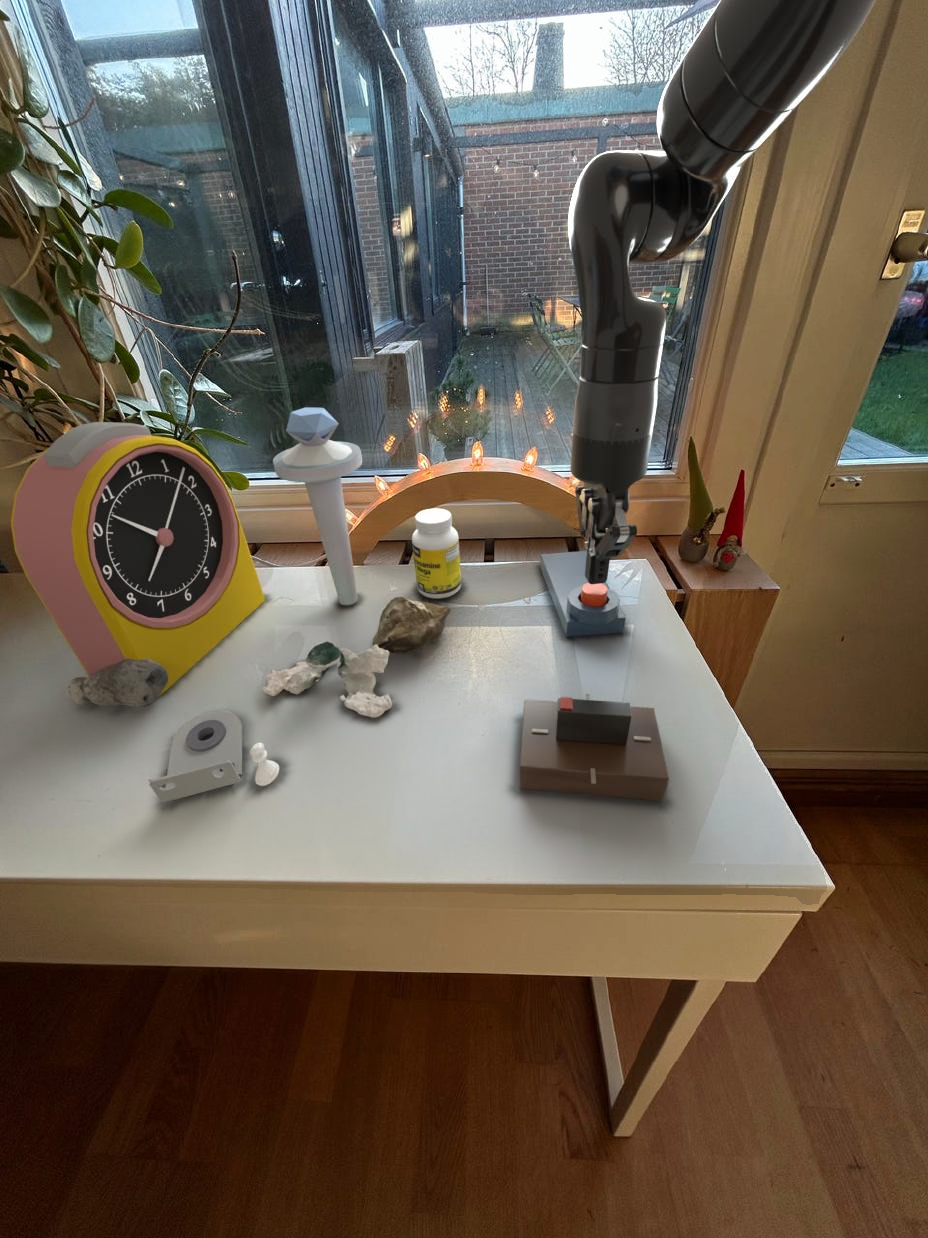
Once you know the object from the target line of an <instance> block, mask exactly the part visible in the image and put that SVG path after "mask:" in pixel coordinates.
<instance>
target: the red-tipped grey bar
mask: <svg viewBox="0 0 928 1238" xmlns="http://www.w3.org/2000/svg"><path fill="white" fill-rule="evenodd" d="M557 702H558V706H557V719H556V739H563V740H575V741H587V742H599V743H612V744H624V745H626V744H627V738H628V733H629V728H630V723H631V718H632V714H631V708H630V707H631V703H630V702H621V701H606V700H593V699H590V700H586V699H577V698H573V697H567V696H566V697H565V696H563V697H562V696H560V697H558V698H557Z"/></svg>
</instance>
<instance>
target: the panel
mask: <svg viewBox="0 0 928 1238" xmlns="http://www.w3.org/2000/svg"><path fill="white" fill-rule="evenodd" d="M585 700H591V696H590V694H589V693H585ZM557 706H558V701H551V700H536V699H535V700H534V699H524V700H523V713H522V724H521V725H522V726H521V727H522V728H521V739H520V740H521V742H520V753H519V771H518V772H519V778H518V780H519V781H518V788H519V789H525V790H532V791H533V790H534V791H535V790H536V791H546V792H555V793H568V794H578V795H590V796H599V797H601V796H602V797H612V798H623V799H633V800H635V799H636V800H645V801H656V802H663V801H664V797H665V793H666V790H667V786H668V783H669V779H670V777H669V774H668V769H667V768H668V767H667V763H666V758H665V754H664V749H663V745H662V740H661V735H660V731H659V725H658V721H657V716H656V712H655V708H654V707H643V706H630V708H631V714H632V718H631V723H630V728H629V733H628V738H627V744H626V745H624V744H612V743H599V742H587V741H575V740H563V739H556V719H557Z"/></svg>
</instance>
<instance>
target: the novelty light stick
mask: <svg viewBox="0 0 928 1238" xmlns="http://www.w3.org/2000/svg"><path fill="white" fill-rule="evenodd" d="M339 424H340V423H339V422H338V421H337V420H336V419H335V418H334V417H333V416H332V415H331V414H330V413H329V412H328V411H327V409H325V408H324V407H307V406H306V407H303V408H300V409H297V410H293V411H291V412H290V415H289V418H288V422H287V426H286V429H285V432H286V433H287V434H288V435H289V436H291V437H292V438H293V439H294V440H296V442H297V444H296V445H294V446H293V447H289V448H287V449H285V450H282V451H281V452H279V453H278V454H276V455H275V456H274V457H273V459H272V464H273V468H274V471H275V475H276V476H277V477H278V478H279V479H281V480H283V481H287V482H294V483H304V485H305V488H306V492H307V494H308V499H309V502H310V505H311V508H312V509H311V510H312V512H313V515H314V519H315V522H316V526H317V530H318V532H319V533H318V534H319V537H320V540H321V543H322V546H323V550H324V554H325V557H326V561H327V564H328V567H329V571H330V574H331V577H332V581H333V585H334V588H335V591H336V594H337V597H338V601H339V604H341V605H342V606H351V605H354V604H355V603H357V602H358V600H359V597H358V589H357V582H356V576H355V569H354V563H353V556H352V548H351V542H350V541H351V540H350V535H349V534H350V533H349V527H348V520H347V513H346V507H345V500H344V499H345V498H344V493H343V486H342V479H341V478H342V477H343V476H347V475H348V474H351V473H353V472H355V471H357V470H358V469H359V468H360V467H361V466H362V465H363V456H362V450H361V447H360V446H358V445H357V444H355V443H352V442H349V441H348V442H347V441H338V440H337V441H334V440H331V437H332V435H333V434H334V432H335V431H336V429H337V428H338V426H339Z"/></svg>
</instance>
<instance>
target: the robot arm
mask: <svg viewBox="0 0 928 1238" xmlns="http://www.w3.org/2000/svg"><path fill="white" fill-rule="evenodd" d="M876 1H877V0H719V2H718V3H717V5H716V6H715V8H714V10H713V11H712V13H711V14H710V15H709V17H708V19H707V20H706V21H705V23H704V25H703V27H702V28H701V30H700V31H699V33H698V34H697V36H696V37H695V39H694V40H693V42H692V43H691V45H690V46H689V48H688V50H687V51H686V52H685V53H684V56H683V57H682V59H681V60H680V62H679V63H678V65H677V66H676V67H675V69H674V71H673V73H672V75H671V76H670V79H669V81H668V82H667V84H666V86H665V87H664V90H663V91H662V95H661V98H660V101H659V104H658V108H657V116H656V128H657V136H658V139H659V142H660V145H661V148H662V150H611V151H605V152H603V153H600V154H598V155H596V156H595V157H593V158H592V159H591V160H590V161H589V162H588V164H586V166H585V167H584V169H583V170H582V172H581V173H580V176H579V177H578V179H577V182H576V184H575V187H574V189H573V193H572V197H571V200H570V205H569V209H568V239H569V248H570V253H571V259H572V264H573V270H574V275H575V282H576V287H577V294H578V302H579V308H580V315H581V320H582V321H581V322H582V337H581V338H582V340H581V352H580V367H579V368H580V369H579V377H578V386H577V391H576V394H575V402H574V408H573V409H574V412H573V425H572V426H573V427H572V442H571V454H570V465H569V466H570V469H569V471H570V473H571V475H572V476H573V477H574V478H575V479H577V480H578V481H581V482H582V483H583V485H577V486H575V489H574V494H575V501H576V509H577V518H578V524H579V525H578V526H579V534H580V537H581V538H584V542H583V543H584V544H583V545H584V548H585V551H587V557H586V567H585V577H586V579H587V581H588V582H589V584H600V583H605V582H606V583H607V581H608V576H609V570H610V569H609V568H610V561H611V559H613V558H620V557H621V556H622V555H623V553H624V552H625V551H626V549H627V548H628V547H629V546H630V544H632V542H634V539H636V536H637V535H638V527H637V525H636V524H629V523H628V521H627V516H626V514H627V513H628V512H629V509H630V501H631V500H630V488H631V487H632V485H633V484H635V483H636V482H639V481H641V480H642V479H643V478H644V477H645V476H646V474H647V472H648V466H649V465H648V464H649V458H650V452H651V447H652V440H653V433H654V426H655V421H656V414H657V407H658V399H659V398H658V397H659V394H658V393H659V392H658V390H659V389H658V388H659V375H660V371H661V365H662V357H663V351H664V345H665V343H664V342H665V337H666V329H667V310H666V308H665V306H664V305H663V304H661V302H659V301H657V300H654V299H650V298H645V297H642V296H641V297H640V296H637V295H636V294H635V292H634V289H633V285H632V280H631V274H630V269H629V266H634V265H649V264H651V265H652V264H661V263H664V262H668V261H669V260H672V259H674V258H676V257H677V256H679V255H681V254H682V253H684V252H685V251H686V250H688V249H689V248H690V247H691V246H692V245H694V244H695V243H696V242H697V241H698V240H699V238H700V237H701V236H702V235H703V233H704V232H705V231H706V230H707V227H708V226H709V225H710V223H711V221H712V220H713V218H714V217H715V215H716V214H717V211H718V210H719V208H720V207H721V205H722V203H723V201H724V200H725V199H726V197H727V195H728V194H729V193H730V190H731V189H732V188H733V186H734V185H735V182H736V181H737V179H738V177H739V175H740V173H741V171H742V170H743V168H744V166H745V165H746V163H747V161H748V159H750V157H752V155H753V154H754V153H756V151H757V150H758V149H759V148H761V146H762V145H763V144H765V142H766V141H767V140H768V139H769V138H770V137H771V135H773V134H774V133H775V132H776V130H777V129H778V128H779V127H780V126H781V125H782V124H783V123H784V122H785V121H786V120H787V119H788V117H789V116H791V114H792V113H793V112H794V111H796V109H797V108H798V107H799V106H800V104H801V103H803V102H804V100H805V99H806V98H807V97H808V96H809V95H810V94H811V93H812V92H813V91H814V90H815V89H816V87H818V85H819V84H820V83H821V82H822V81H823V79H824V78H825V77H826V76H827V75H828V73H829V72H830V71H831V70H832V69H833V67H834V66H835V65H836V64H837V63H838V61H839V60H840V58H842V56H843V54H844V53H845V52H846V50H847V49H848V48H849V47H850V45H851V44H852V42H853V40H854V39H855V37H856V36H857V34H858V32H859V31H860V30H861V28H862V27H863V25H864V24H865V21H866V20H867V17H868V16H869V14H870V13H871V10H872V9H873V7H874V6H875V3H876Z"/></svg>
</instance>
